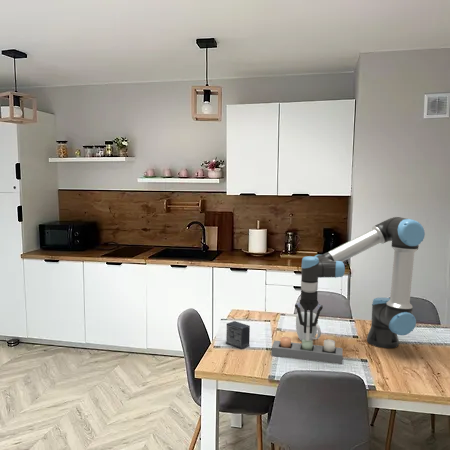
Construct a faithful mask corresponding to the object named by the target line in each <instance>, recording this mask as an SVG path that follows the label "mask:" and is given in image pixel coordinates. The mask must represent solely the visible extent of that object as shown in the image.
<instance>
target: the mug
mask: <svg viewBox="0 0 450 450" xmlns="http://www.w3.org/2000/svg"><path fill="white" fill-rule="evenodd" d="M316 314H317V313H314V312H313V323H314V321H315V317H316ZM301 315H302V319H303V322H304V311H301ZM307 325H310V311H307ZM295 330H296V334H297V337H298V339H299V340H300V341H301V342H302V340H303V339H306V333H304V326H303V325H300V321H299V317H298V312H297V313H296V314H295ZM316 335H317V336H316ZM321 335H322V331H321V327H320V325H319V320H318V321H317V324H316V326H313V327H312V334H311V333H310V339H309V340H312V341H313V342H314V340H319V339H320V337H321Z"/></svg>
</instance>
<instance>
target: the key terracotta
mask: <svg viewBox="0 0 450 450" xmlns="http://www.w3.org/2000/svg"><path fill="white" fill-rule="evenodd" d="M279 341H280V347H283V348H291V342H292V338H291V337H289V336H281V337H280V340H279Z"/></svg>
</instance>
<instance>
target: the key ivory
mask: <svg viewBox="0 0 450 450" xmlns="http://www.w3.org/2000/svg"><path fill="white" fill-rule="evenodd" d="M323 346H324V351H327V352H334V351H335V347H336V341H335V340H333V339H328V338H327V339H324V340H323Z"/></svg>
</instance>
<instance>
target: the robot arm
mask: <svg viewBox="0 0 450 450" xmlns="http://www.w3.org/2000/svg"><path fill="white" fill-rule="evenodd" d="M425 235H426V233H425V227H424V225H422V224H421V223H420V222H419V221H417V220H415V219H412V218H404V217H401V216H394V217H393V216H392V217H390V218H388V219H386V220H382V221H381V222H379V223H377V224H376V225H373V226H372V229H370V230H369V231H366V232H364V233H362V234H361V235H358V236H357V237H355V238H353V239H350V240H349V241H347V242H345V243H342V244H340V245H339V246H337V247H335V248H333V249H331V250H329V251H328V252H325V253H323V254H316V255H314V256H311V255H309V256H307V255H306V256H303V257H302V259H301V277H300V278H301V281H300V289H301V291H300V299H299V302H296V303H295V304H294V307H295V309H296V312H297V313H298V317H299V321H300V325H303V326H304V333H306V341H309V339H310V333H311V334H312V327H313V326H316V324H317V321H318V322H319V317H320V313H321V311H322V310H323V309H324V306H323V305H321V304H319V301H318V289H319V288H318V287H319V286H318V284H319V278H335V279H336V278H342V277H343V276H344V275H345V271H346V267H345V264H344V262H346V261H348V260H349V259H351V258H353V257H355V256H357V255H359V254H361V253H363V252H365V251H367V250H369V249H371V248H373V247H375V246H377V245H379V244H381V245H382V244H383V245H384V244H385V243H388V242H391V248H392V249H393V250H394V253H393V264H392V274H391V275H392V276H391V288H390V297H376V298H373V299H372V304H371V326H370V327H369V331H368V333H367V336H366V341H367V343H368V344H370V345H372V346H374V347H377V348H382V349H395V348H397V347H398V346H399V342H400V341H399V337H398V336H407V335H409V334H411V332H413V331H414V330H415V327H416V326H417V319H416V316H415V315H414V314H413V304H411V302H410V301H411V291H412V281H413V270H414V260H415V259H414V258H415V253H416V251H418V250H419V245H421V243H422V242H423V241H424V239H425ZM301 307H302V309H303V312H304V322H303V319H302V315H301V312H302V310H301ZM316 308H317V312H316V313H315V314H316V317H315V321H314V323H313V313H314V310H315V309H316ZM308 311H309V312H310V325H307V312H308Z"/></svg>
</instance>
